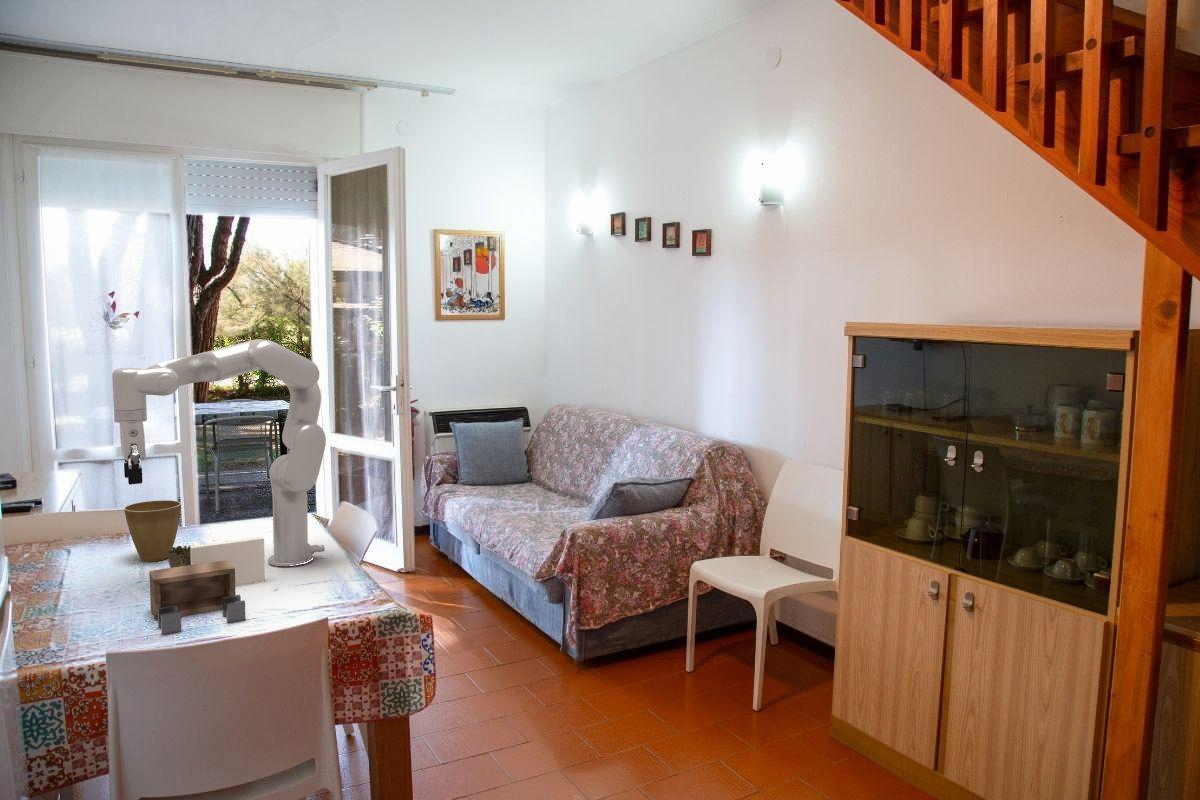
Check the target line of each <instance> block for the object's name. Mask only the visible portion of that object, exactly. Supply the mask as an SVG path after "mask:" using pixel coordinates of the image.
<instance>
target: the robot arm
mask: <svg viewBox="0 0 1200 800" xmlns="http://www.w3.org/2000/svg"><path fill="white" fill-rule="evenodd" d="M256 371H257V372H258V371H264V372H266V373H267V374H269V375H271V376H273V377H276V378H277V379H279V380H281V382H282V383H284V384H285V385H286V387H287V389H288V391H289V398H290V401H289V405H288V411H287V415H286V419H285V423H284V426H283V430H282V435H281V437H282V438H281V439H282V443H283V444H284V446H285V447H286V448H288V449H289V450H290V451H289V454H283V455H280V456H277V457H276V459H275V460H273V462H272V463H271V466H270V469H269V479H270V486H271V493H272V532H273V533H272V534H273V535H272V536H273V537H272V538H273V539H272V541H273V555H270V556H269V557H268V559H267V563H268V564H269V565H270V564H271V565H270V566H273V565H274V566H273V567H278V566H290V565H296V564H300V563H304V562H307V561H309V560H311V559H312V558H313V557H314V554H315V553H320V552H321V553H323V552H325V551H326V548H325V545H324V544H322V545H321V544H320V545H318V544H313V545H311V544H309V536H308V535H309V533H308V532H309V528H308V526H309V525H308V494H307V492H308V491H310V490H311V489H313V487H314V486H315V484H316V483H317V480H318V478H319V474H320V471H321V466H322V463H323V459H324V453H325V449H326V446H327V445H326V444H327V437H326V433H325V431H324V429H323V428H322V426H320V425H319V424H318V419H319V415H320V410H321V404H322V394H321V393H322V392H321V389H320V385H319V383H318V382H319V380H320V369H319V367H318V366H317V364H316V363H314V362H313V361H312V360H310V359H309V358H307V357H305V356H303V355H301V354H298V353H297V352H294V351H292V350H290V349H288V348H286V347H285V346H283V345H281V344H279V343H277V342H275V341H273V340H268V339H262V338H261V339H259V338H258V339H252V340H248V341H243V342H240V343H236V344H233V345H229V346H228V345H227V346H225V347H221V348H217V349H216V348H215V349H212V350H209V351H203V352H200V353H197V354H193V355H189V356H184V357H183V356H182V357H179V358H176V359H175V358H174V359H172V360H167V361H163V362H159V363H156V364H153V365H150V366H148V367H147V368H145V369H142V368H139V367H122V368H116V369H115V370H113V372H112V375H111V379H112V381H111V382H112V383H111V385H112V399H113V400H112V402H113V422H114V423H115V424H117V423H118V424H119V437H120V438H119V439H120V447H121V448H120V449H121V454H122V455H121V456H122V457H123V459H124V463H123V468H124V470H123V471H124V472H123V473H124V478H125V479H126V478H127V480H128V481H127V484H129V485H139V484H140V485H141V484H142V483H143V468H142V461H141V459H142V460H146V458H147V453H146V439H145V426H144V422H147V421H148V412H147V411H148V410H147V409H148V408H147V406H148V405H147V396H158V397H159V396H161V397H164V396H170V395H173V394H174V393H176V392H177V390H178V389H179V388H180V386H185V385H190V384H194V383H195V384H196V383H202V382H205V383H211V382H212V383H213V382H220V381H224V380H228V379H232V378H235V377H238V376H241V375H246V374H249V373H253V372H256Z"/></svg>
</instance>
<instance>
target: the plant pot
mask: <svg viewBox="0 0 1200 800" xmlns="http://www.w3.org/2000/svg"><path fill="white" fill-rule="evenodd" d="M181 510H182V502H181V501H178V500H168V499H166V500H165V499H164V500H163V499H160V500H149V501H141V502H136V503H135V502H134V503H132V504H128V505H126V506H124V508H123V511H124V515H125V519H126V523H127V527H128V530H129V535H130V537H131V540H132V542H133V545H134V547H135V550H136V551H137V554H138V556H139V558H140V560H141V561H142V562H148V563H151V562H160V561H161V562H162V561H164V560H167V559H168V553H167V551H168V549H169V550H170V551H172V548H173V547H174V545H175V542H176V537H177V533H178V528H179V523H180V519H181Z"/></svg>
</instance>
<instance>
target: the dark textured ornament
mask: <svg viewBox="0 0 1200 800" xmlns="http://www.w3.org/2000/svg"><path fill="white" fill-rule="evenodd" d="M190 546H191V545H188V546H187V545H183V547H182V546H181V545H178V546H176V547H175V546H173V548H172V551H170V550H169V549H168V551H167V553H168V558H167V559H168V564H169V568H173V567H181V566H188V565H191V553H190Z"/></svg>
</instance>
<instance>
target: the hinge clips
mask: <svg viewBox="0 0 1200 800" xmlns="http://www.w3.org/2000/svg"><path fill="white" fill-rule="evenodd" d="M221 610H222V614H221V615H222V617H226V623H227V624H230V623H236V622H241V621H246V620H247V619H246V601H245V600H244V599H243V600H241V595H240V594H236V595H234V596H228V597H222V609H221ZM157 627H158V629H161V630H160V631H161V633H160V634H161V635H162V636H163V635H164V636H165V635H169V634H170V635H171V634H173V633H180V632H182V616H181V612H180V611H178V610H177V605H172V606H166V607H160V608H158V620H157Z"/></svg>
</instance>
